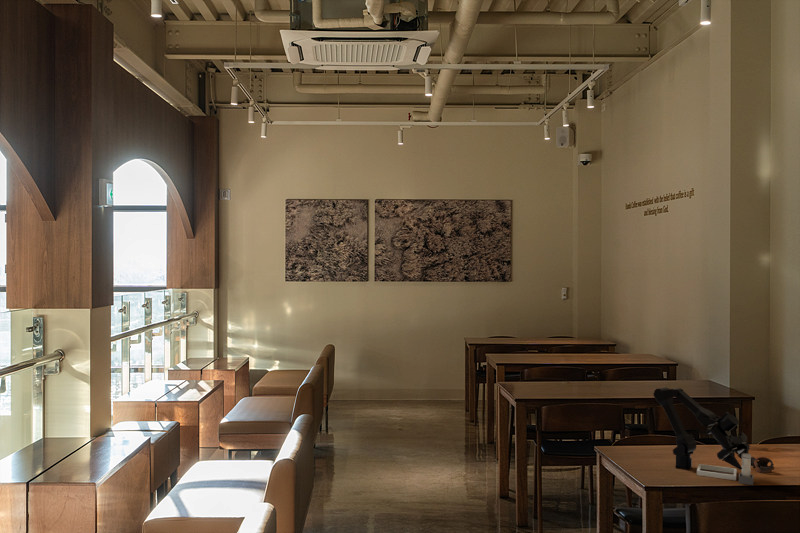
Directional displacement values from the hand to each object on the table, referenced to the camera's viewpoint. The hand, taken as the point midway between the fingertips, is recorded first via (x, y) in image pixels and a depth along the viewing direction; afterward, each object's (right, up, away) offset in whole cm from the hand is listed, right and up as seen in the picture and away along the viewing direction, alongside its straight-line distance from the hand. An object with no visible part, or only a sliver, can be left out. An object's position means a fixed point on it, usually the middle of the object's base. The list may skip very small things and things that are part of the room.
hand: (746, 467), depth 297 cm
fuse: (0, -7, 0) cm, 7 cm away
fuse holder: (0, -8, 0) cm, 8 cm away
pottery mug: (+16, -8, +19) cm, 26 cm away
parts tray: (-8, -8, +12) cm, 16 cm away
